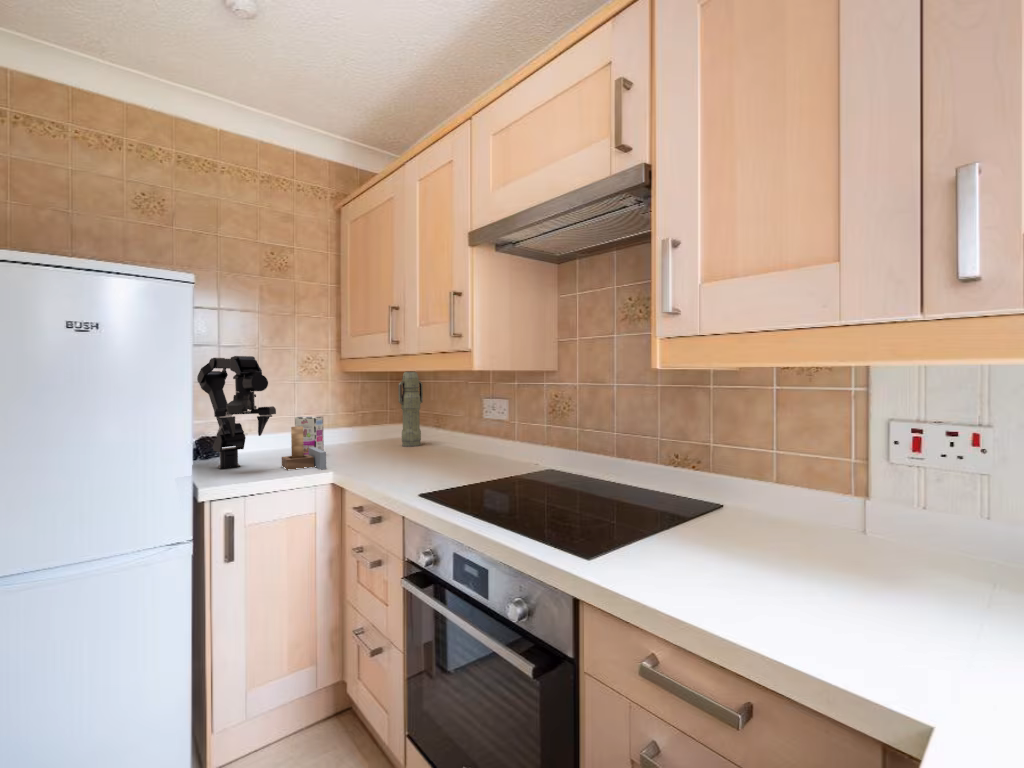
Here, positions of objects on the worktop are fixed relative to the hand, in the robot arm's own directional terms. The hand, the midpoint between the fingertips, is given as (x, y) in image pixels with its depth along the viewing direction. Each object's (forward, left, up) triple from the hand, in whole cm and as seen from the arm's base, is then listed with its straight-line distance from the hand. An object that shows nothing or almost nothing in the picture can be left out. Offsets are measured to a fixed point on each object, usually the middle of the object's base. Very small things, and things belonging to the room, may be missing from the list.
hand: (246, 436), depth 171 cm
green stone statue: (-21, +72, -12) cm, 76 cm away
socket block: (+4, +16, -13) cm, 21 cm away
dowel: (+4, +16, -12) cm, 20 cm away
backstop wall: (+7, +22, -12) cm, 26 cm away
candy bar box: (-20, +26, -12) cm, 35 cm away
